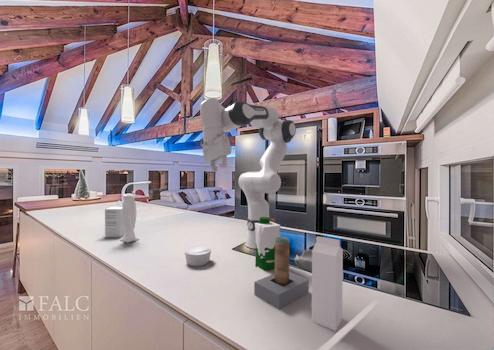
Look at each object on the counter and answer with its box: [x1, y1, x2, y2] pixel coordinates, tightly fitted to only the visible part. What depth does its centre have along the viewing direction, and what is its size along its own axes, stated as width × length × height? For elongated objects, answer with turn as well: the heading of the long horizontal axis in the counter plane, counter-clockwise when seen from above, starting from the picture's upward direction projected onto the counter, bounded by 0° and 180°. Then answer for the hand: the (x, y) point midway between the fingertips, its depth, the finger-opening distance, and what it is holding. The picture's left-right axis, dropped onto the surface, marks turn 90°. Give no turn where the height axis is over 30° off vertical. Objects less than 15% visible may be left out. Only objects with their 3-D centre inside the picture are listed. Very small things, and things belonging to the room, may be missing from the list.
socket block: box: [253, 271, 310, 310], centre depth 72 cm, size 14×10×5 cm
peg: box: [274, 236, 290, 287], centre depth 72 cm, size 4×4×17 cm
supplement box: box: [104, 206, 124, 238], centre depth 142 cm, size 10×9×17 cm
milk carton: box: [254, 217, 281, 272], centre depth 94 cm, size 9×9×20 cm
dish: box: [294, 249, 313, 273], centre depth 96 cm, size 14×14×5 cm
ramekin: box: [184, 245, 212, 267], centre depth 100 cm, size 11×11×5 cm
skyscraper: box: [119, 190, 140, 244], centre depth 130 cm, size 8×8×28 cm
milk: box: [311, 235, 344, 332], centre depth 60 cm, size 6×6×22 cm
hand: (219, 169), depth 96 cm, fingers open, 8 cm apart
